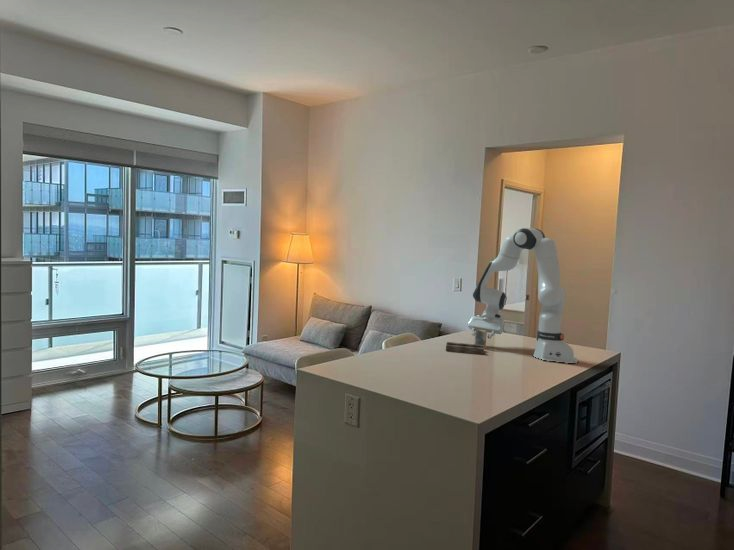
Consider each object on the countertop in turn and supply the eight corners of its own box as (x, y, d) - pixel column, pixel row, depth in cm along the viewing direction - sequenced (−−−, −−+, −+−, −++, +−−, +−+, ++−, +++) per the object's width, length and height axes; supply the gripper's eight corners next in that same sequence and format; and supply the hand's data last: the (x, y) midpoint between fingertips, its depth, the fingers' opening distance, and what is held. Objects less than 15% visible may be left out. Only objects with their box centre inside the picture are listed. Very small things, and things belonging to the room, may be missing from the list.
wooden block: (485, 348, 300) (486, 330, 299) (483, 349, 298) (484, 331, 297) (476, 346, 303) (477, 329, 302) (474, 347, 301) (475, 329, 300)
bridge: (483, 350, 294) (483, 345, 293) (483, 354, 284) (484, 349, 283) (446, 347, 297) (446, 341, 297) (445, 351, 287) (446, 345, 287)
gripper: (471, 311, 312) (462, 330, 304) (504, 316, 300) (496, 336, 293) (474, 318, 316) (465, 336, 308) (507, 323, 304) (499, 342, 297)
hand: (481, 336), depth 300 cm, fingers open, 8 cm apart
